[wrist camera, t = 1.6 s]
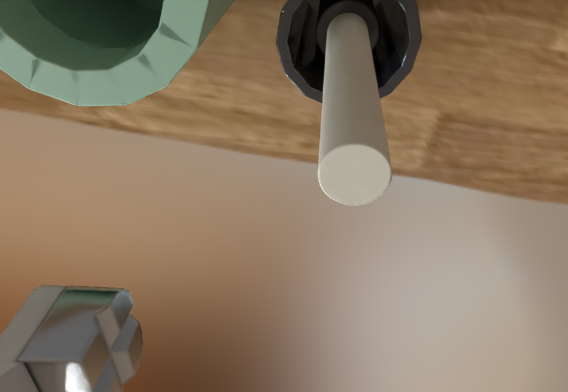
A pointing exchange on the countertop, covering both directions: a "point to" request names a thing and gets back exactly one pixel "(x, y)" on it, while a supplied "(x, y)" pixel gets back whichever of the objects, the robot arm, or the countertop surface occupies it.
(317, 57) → the holder
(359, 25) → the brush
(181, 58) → the jar
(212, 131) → the countertop surface
